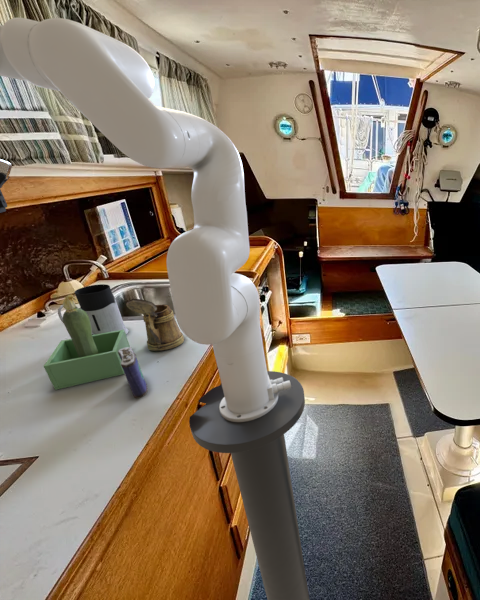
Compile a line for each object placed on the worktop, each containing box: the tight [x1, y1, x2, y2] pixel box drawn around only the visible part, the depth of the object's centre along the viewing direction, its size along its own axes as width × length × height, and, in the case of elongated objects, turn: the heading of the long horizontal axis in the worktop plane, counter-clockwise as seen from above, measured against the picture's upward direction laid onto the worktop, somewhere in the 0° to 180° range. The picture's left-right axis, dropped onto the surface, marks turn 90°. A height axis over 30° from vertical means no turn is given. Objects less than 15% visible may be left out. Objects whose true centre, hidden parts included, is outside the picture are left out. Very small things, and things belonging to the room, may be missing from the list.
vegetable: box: [62, 293, 99, 358], centre depth 78 cm, size 4×4×20 cm
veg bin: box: [43, 330, 131, 391], centre depth 81 cm, size 13×13×7 cm
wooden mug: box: [125, 298, 185, 352], centre depth 88 cm, size 9×14×18 cm, turn 14°
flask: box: [118, 346, 148, 399], centre depth 74 cm, size 9×3×11 cm, turn 43°
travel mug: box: [57, 283, 129, 335], centre depth 91 cm, size 9×14×15 cm, turn 172°
